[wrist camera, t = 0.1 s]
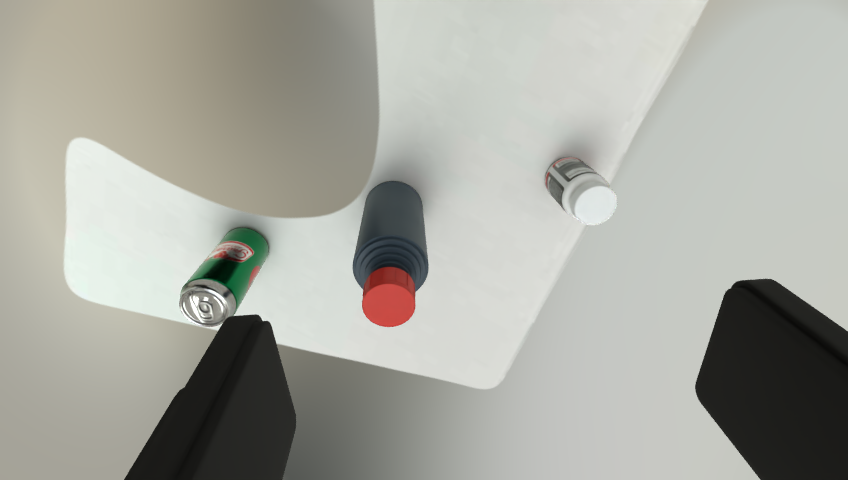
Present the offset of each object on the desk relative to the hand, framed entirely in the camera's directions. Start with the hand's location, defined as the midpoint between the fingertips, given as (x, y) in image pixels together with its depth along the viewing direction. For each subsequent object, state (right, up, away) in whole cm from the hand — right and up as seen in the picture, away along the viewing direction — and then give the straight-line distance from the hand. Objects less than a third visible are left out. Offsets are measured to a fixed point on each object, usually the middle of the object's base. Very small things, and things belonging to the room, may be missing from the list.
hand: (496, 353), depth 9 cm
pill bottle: (+14, +9, +38) cm, 42 cm away
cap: (-4, -2, +23) cm, 23 cm away
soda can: (-22, +2, +40) cm, 46 cm away
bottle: (-5, +6, +39) cm, 39 cm away
